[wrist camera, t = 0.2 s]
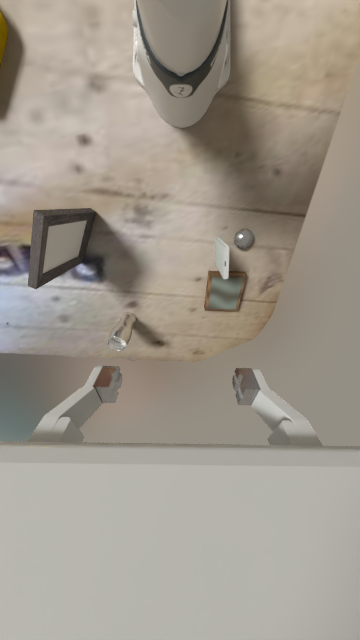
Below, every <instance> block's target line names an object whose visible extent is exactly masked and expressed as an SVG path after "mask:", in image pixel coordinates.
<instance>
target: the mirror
mask: <svg viewBox="0 0 360 640" xmlns="http://www.w3.org/2000/svg"><path fill="white" fill-rule="evenodd" d="M246 276H247V274H246V273H245V272H236V271H229V277H228V279H223V277H222V276H221V274H220V272H219V271H209V272H208V281H207V289H206V297H205V305H204V308H205V310H208V311H237V310H238V306H239V302H240V299H241V295H242V291H243V287H244V283H245V280H246Z"/></svg>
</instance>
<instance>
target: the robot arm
mask: <svg viewBox="0 0 360 640" xmlns="http://www.w3.org/2000/svg"><path fill="white" fill-rule="evenodd" d="M133 25H134V45H133V73H134V77H135V79H136V81H137V82H138V83H139V84H140V86H141V87H142V88H143V89H144V90H145V91H146V92H147V93H148V95H149V97H150V99H151V102H152V104H153V106H154V108H155V110H156V111H157V113H158V114H159V115H160V117H161V118H162V119H163V120H164V121H165V122H167V123H168V124H170V125H172V126H174V127H178V128H185V127H189V126H191V125H193V124H195V123H196V122H198V121H199V120H200V119H201V118H202V117H203V115H204V114H205V113H206V111H207V110H208V108H209V106H210V104H211V102H212V100H213V98H214V96H215V95H216V93H217V92H218V91H219V90H221V89H222V88H223V87H224V85H225V84H226V83H227V81H228V79H229V76H230V0H135V9H133ZM225 63H226V65H225ZM224 65H225V66H224ZM119 371H120V368H119V367H118V366H96V367H95V368H94V369H93V371H92V373H91V375H90V377H89V379H88V381H87V382H86V384H85V386H84V387H81V388H80V389H79V390H77V391H76V392H75V393H73V394H72V395H71V396H70V397H68V398H67V399H66V400H64V401H63V402H62V403H60V404H59V405H58V406H57V407H55V408H54V409H53V410H51V411H50V412H49V413H47V414H46V415H45V416H44V417H43V419H42V420H41V422H40V423H39V425H38V426H37V428H36V429H35V431H34V432H33V434H32V435H31V437H30V439H29V440H28V442H11V441H0V640H360V446H323V445H322V444H321V442H320V440H319V439H318V437H317V435H316V434H315V432H314V430H313V429H312V427H311V425H310V423H309V422H308V420H307V419H306V418H304V417H303V416H302V415H301V414H300V413H298V412H297V411H296V410H295V409H294V408H292V407H291V406H290V405H289V404H288V403H287V402H285V401H284V400H283V399H282V398H281V397H279V396H278V395H277V394H276V393H275V392H273V391H272V390H269V388H268V386H267V384H266V382H265V380H264V377H263V375H262V373H261V371H260V370H259V369H258V368H236V369H235V375H234V376H233V379H232V380H233V382H232V383H233V388H234V390H235V391H236V392H237V393H236V398H237V401H238V404H239V405H251V407H252V408H253V409H254V410H255V411H256V412H257V414H258V415H259V416H260V417H261V418H262V419H263V421H264V422H265V423H266V424H267V425H268V426H269V428H270V429H271V430H272V431H273V433H272V434H271V435H270V437H269V438H268V441H269V444H270V445H231V444H230V445H229V444H228V445H227V444H159V443H158V444H157V443H155V444H154V443H87V442H82V441H83V438H84V436H83V434H82V433H81V432H80V430H79V428H80V427H81V426H82V425H83V424H84V423H85V422H86V421H87V420H88V419H89V418H90V417H91V416H92V414H93V413H94V412H95V411H96V410H97V409H98V408H99V407H100V406H101V405H102V403H115V402H116V399H117V396H118V391H117V390H118V389H119V388H120V387H121V384H122V374H121V373H120V372H119Z"/></svg>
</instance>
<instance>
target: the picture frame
mask: <svg viewBox="0 0 360 640" xmlns="http://www.w3.org/2000/svg"><path fill="white" fill-rule="evenodd" d="M95 214H96V212H95V211H94V210H92V209H91V208H84V209H56V210H34V214H33V226H32V239H31V252H30V265H29V278H28V286H30V287H32V288H34V289H37V288H39V287H41V286H42V285H44V284H46V283H48V282H49V281H51V280H53V279H54V278H56V277H58V276H60V275H61V274H63V273H65V272H67V271H68V270H70V269H72V268H73V267H75V266H77V265H79V264H80V263H82V262H83V260H84V256H85V252H86V248H87V244H88V240H89V237H90V233H91V229H92V225H93V221H94V218H95Z"/></svg>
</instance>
